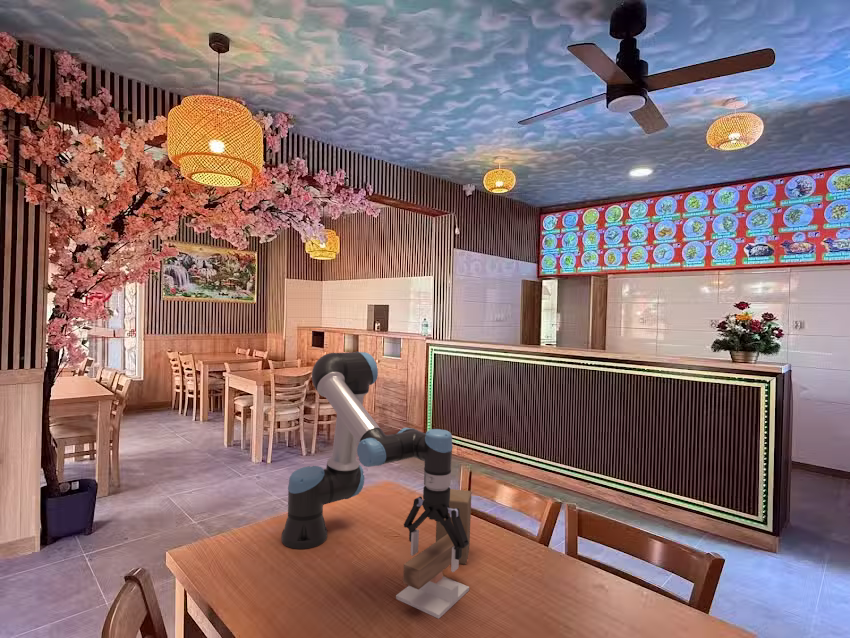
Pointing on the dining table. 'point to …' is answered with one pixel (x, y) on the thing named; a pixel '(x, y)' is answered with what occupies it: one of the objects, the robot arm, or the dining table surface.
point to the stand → (434, 595)
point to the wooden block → (462, 502)
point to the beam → (428, 563)
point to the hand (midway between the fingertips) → (433, 561)
